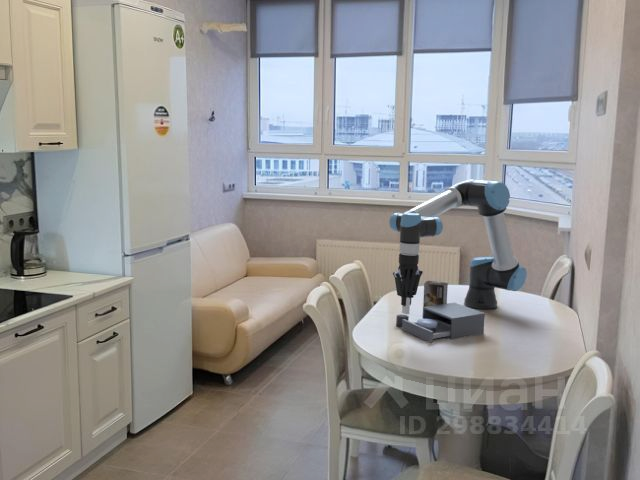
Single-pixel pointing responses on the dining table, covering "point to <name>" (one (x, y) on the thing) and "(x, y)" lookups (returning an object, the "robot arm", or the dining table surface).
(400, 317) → the short dark gray cylinder
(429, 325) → the light blue dome
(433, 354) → the dining table surface
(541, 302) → the dining table surface
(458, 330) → the gray drawer box
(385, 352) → the dining table surface
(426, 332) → the tray
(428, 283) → the coffee box
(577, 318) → the dining table surface
